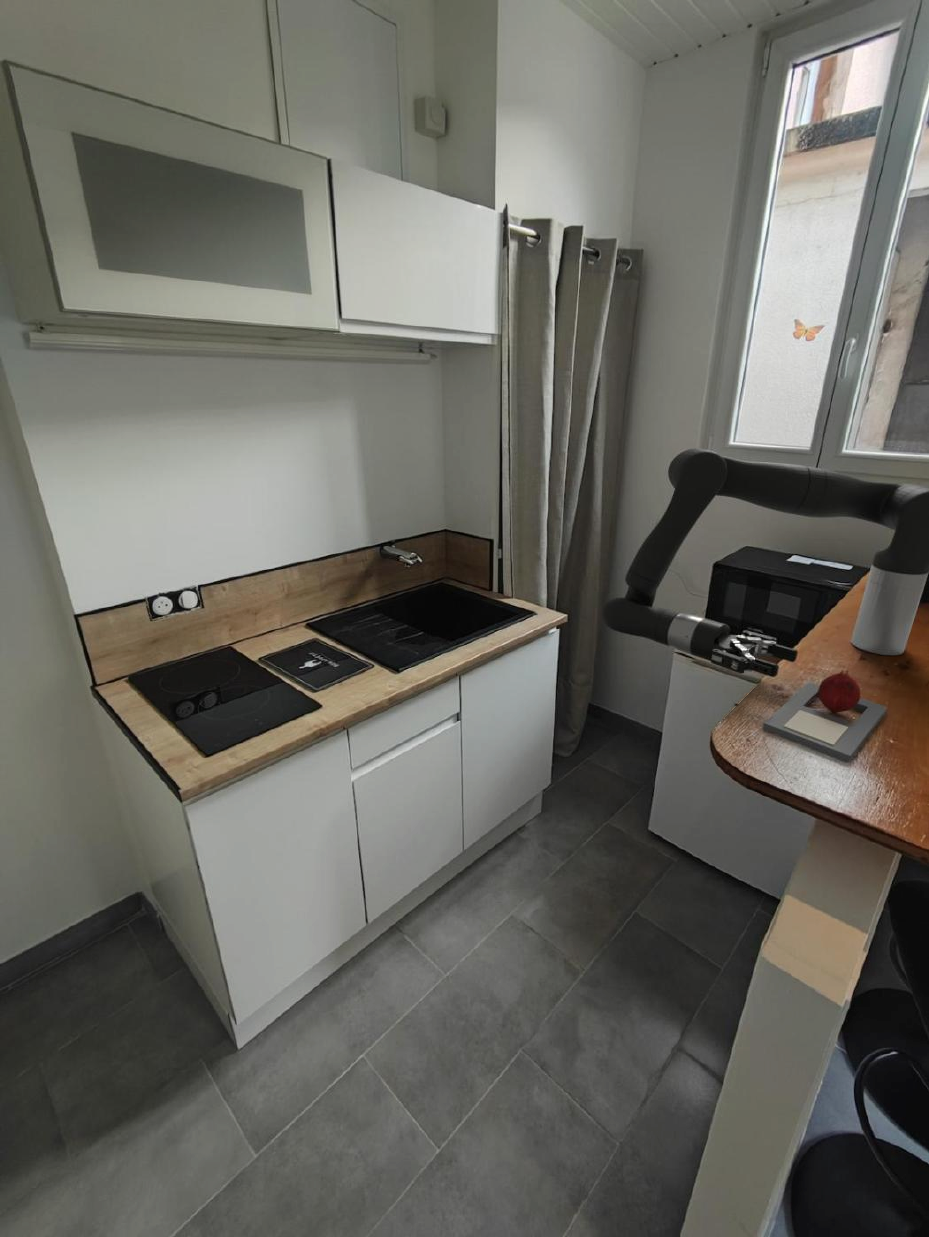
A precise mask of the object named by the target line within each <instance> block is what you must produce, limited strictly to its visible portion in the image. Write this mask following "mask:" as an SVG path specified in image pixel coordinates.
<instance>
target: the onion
mask: <svg viewBox="0 0 929 1237" xmlns="http://www.w3.org/2000/svg"><path fill="white" fill-rule="evenodd" d="M819 685H820V686H819V690H818V696H819V697H818V698H819V700H820V702H821V704H822V705H823V706H824V707H825V708H826V709H827V710H828V711H829V712H831V713H834V714H837V713H843V712H847V711H850V710H853V707H854V706H856V705H857V703H858V702H859V700H860V698H861V689H860V685H859V684H858V683H857V681H856V680H855V678H853V677H852V676H850V675H849V670H848V669H847V668H843V669H841V670H840V672H839V673H835V674H832V675H829V676H828V677H826V678H824V679H823V680H822V681H821V682H820V684H819Z"/></svg>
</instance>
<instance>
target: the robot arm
mask: <svg viewBox="0 0 929 1237" xmlns="http://www.w3.org/2000/svg"><path fill="white" fill-rule="evenodd" d="M667 471H668V472H667V475H668V480H669V483H670V484H671V485H672V487H673V488H674V490H673V494H672V496H671V499H670V501H669V503H668V506H667V508H666V510H665V512H663V515H662V516H661V518H660V520H659V522H658V523H657V524H656V525H655V526H654V528H653V529H652V530H651V531H650V533H649V534H648V536H647V537H646V539H644V541H642V544H641V545H640V547H639V549H638V551H637V552H636V554H635V556H634V558H633V559H632V562H631V565H630V566H629V567H628V570H627V572H626V574H625V578H624V582H625V584H626V585H627V586H628V588H627V591H626V593H625V596H624V597H613V598H611V599H609V600H607V601H606V602H605V603H604V604H603V606H602V608H601V610H600V611H601V614H600V616H601V619H602V621H603V623H604V625H605V626H607V627H608V628H609V629H610V630H612V631H615V632H617V633H618V632H619V633H620V634H621V633H622V634H626V635H629V636H634V637H640V638H644V639H648V640H651V641H653V642H656V643H658V644H661V645H664V646H668V647H669V648H670V647H671V648H673V649H675V650H677V651H679V652H683V653H685V654H688V655H690V656H693V657H697V658H700V659H703V660H707V661H708V662H709V661H710V662H711V664H713V665H715V666H718V667H721V668H724V669H727V670H729V671H733V672H735V673H738V674H744V673H745V671H746V672H752V671H753V672H756V673H758V674H762V675H766V676H769V677H772V678H776V676H778V672H779V668H780V666H779V665H778V664H777V663H775V662H771V661H768V660H765V659H762V658H760V657H761V656H772V657H774V658H778V659H781V660H784V661H788V662H791V663H793V662H796V660H797V658H798V653H799V652H798V650H797V649H795V648H792V647H787V646H784V645H782V644H781V645H780V644H777V641H778V640H777V638H776V637H772V636H770V635H765V634H760V633H758V632H754V631H749V630H743V631H742V634H741V635H740V634H738V635H736V634H732V632H731V628H730V626H729V625H728V624H726V623H722V622H719V621H716V620H712V619H708V618H706V617H701V616H699V615H694V614H688V613H682V612H679V611H675V610H671V609H669V608H664V607H653V605H654V602H655V598H656V594H657V591H658V589H659V587H660V584H661V583H662V581H663V579H664V577H665V576H666V574H667V572H668V570H669V568H670V566H671V564H672V562H673V560H674V559H675V557H676V555H677V553H678V551H679V550H680V548H681V546H682V544H683V543H684V541H685V540H686V538H687V536H688V534H690V531H691V530H692V528H693V527H694V526H695V524H696V523H697V521H698V520H699V518H700V517H701V515H702V514H703V513H704V512H705V510H706V509H707V507H708V506H709V505H710V504H711V502H712V501H713V500H714V499H715V497H716V496H718V497H727V498H732V499H737V500H740V501H744V502H747V503H750V504H753V505H756V506H759V507H762V508H764V509H769V510H772V511H777V512H780V513H785V514H788V515H789V514H791V515H796V516H800V517H801V516H802V517H809V518H821V519H823V518H842V517H844V518H852V519H858V520H862V521H867V522H870V523H874V524H877V525H880V526H883V527H886V528H889V529H891V530H893V531H894V533H893V537H892V539H891V542H890V544H889V546H888V547H887V548H881V549H878V550H877V551H876V552H875V554H874V556H873V559H872V563H871V566H870V571H869V574H868V578H867V583H866V586H865V588H864V593H863V596H862V600H861V604H860V607H859V611H858V615H857V619H856V622H855V625H854V629H853V633H852V637H851V640H850V643H851V644H852V645H853V646H854V647H856V648H858V649H860V650H863V651H864V652H865V651H866V652H869V653H871V654H872V653H873V654H875V655H876V654H877V655H883V656H899V655H903V653H905V649H906V646H907V643H908V639H909V636H910V634H911V630H912V627H913V624H914V620H915V617H916V614H917V611H918V607H919V606H920V605H919V604H920V603H921V602H920V601H921V598H922V594H923V591H924V589H925V586H926V582H927V578H928V575H929V486H925V485H922V484H918V483H916V484H915V483H894V482H881V481H880V482H879V481H869V480H864V479H859V478H856V477H852V476H850V475H847V474H845V473H840V472H836V471H833V470H829V469H824V468H819V467H814V466H807V465H799V464H793V463H781V462H768V461H767V462H764V461H750V460H749V461H748V460H742V459H741V460H740V459H736V458H733V457H728V456H724V455H721V454H719V453H717V452H715V451H713V450H709V449H707V448H706V449H705V448H698V447H694V448H689V449H686V450H684V451H682V452H680V453H678V454H677V455H676V456H674V458H673V459H672V460H671V462H670V464H669V466H668V470H667Z"/></svg>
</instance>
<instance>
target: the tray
mask: <svg viewBox="0 0 929 1237" xmlns="http://www.w3.org/2000/svg"><path fill="white" fill-rule="evenodd" d="M819 686H820V684H817V683H813V682H811V681H810V682H807V683H806V685H804V686H803V687H801V689H799V691H797V692H796V693H795V694H794V695H793V696H792V697H791V698H790V699H788V701H787V702H785V703H784V704H782V706H781V707H780V708H779V709H778V710H777V711H775V712H774V713H773V714H772V715H771V716H770V717H769V718H768V719H767V720H766V721H765V722H764V723H763V726H762V730H764V731H766V732H769V733H771V734H774V735H775V736H778V737H781V738H784V739H786V740H790V741H791V742H794V743H796V744H799V745H801V746H804V747H807V748H810V749H813V750H815V751H817V752H819V753H822V754H825V755H826V756H827V755H828V756H830V757H831V758H832V757H833V758H835V759H837V760H841V761H843V762H845V763H848V764H849V763H850V761H851V760H852V759H853V757H854V756H855V755H856V753H857V752H858V751H859V750H860V748H861V747H862V745H863V744H864V743H865V742H866V741H867V739H868V738H869V736H870V735H871V734H872V732H873V731H874V730H875V728H876V727H877V726H878V725H879V723H880V722H881V720H882V719H883V718H884V717H885V715H886V713H887V712H888V708H889V706H885V705H882V704H878V703H876V702H872V701H870V700H866V699H863V698H861V697H860V700H859V702H858V703H857V705H856V706H854V707H853V708H852V710H856V711H858V712H862V713H861V715H860V716H859V717H858V718H857V720H856V721H855V722H851V721H849V720H845V719H843V718H840V717H837V716H834V715H831V714H827V713H825V712H822V711H819V710H816V709H813V708H811V707H808V706H809V705H810V704H811V703H812V702H814V701H815V699H816V698H819V696H818V690H819Z"/></svg>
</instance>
